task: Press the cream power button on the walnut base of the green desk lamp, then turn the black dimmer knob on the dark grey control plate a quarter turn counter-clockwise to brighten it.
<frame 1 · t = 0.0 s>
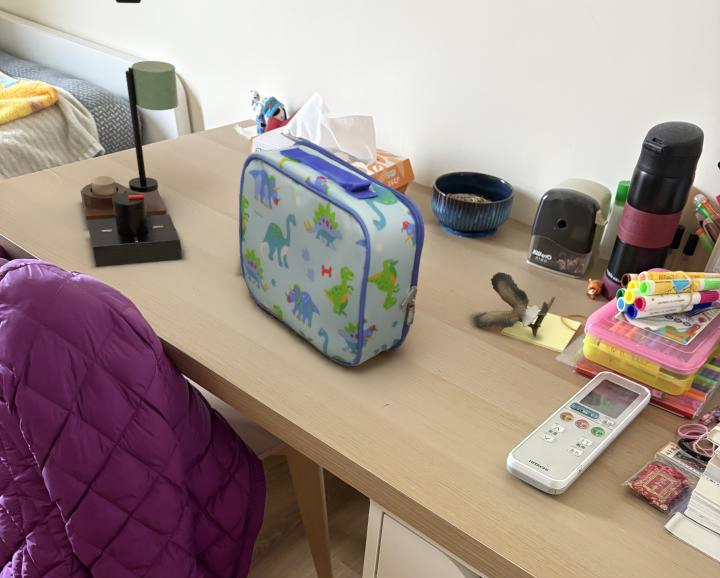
lunch box: (323, 327, 94), on the table
dimmer plate: (135, 249, 106), on the table
dimmer knob: (130, 213, 102), point 5 cm above the table, hinge at 0.0°
ink box: (261, 264, 106), on the table
lamp base: (124, 213, 115), on the table
desk lamp: (143, 187, 113), resting on lamp base
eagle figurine: (507, 327, 97), on the table
lamp button: (103, 186, 111), point 5 cm above the table, slide at 0.2 cm
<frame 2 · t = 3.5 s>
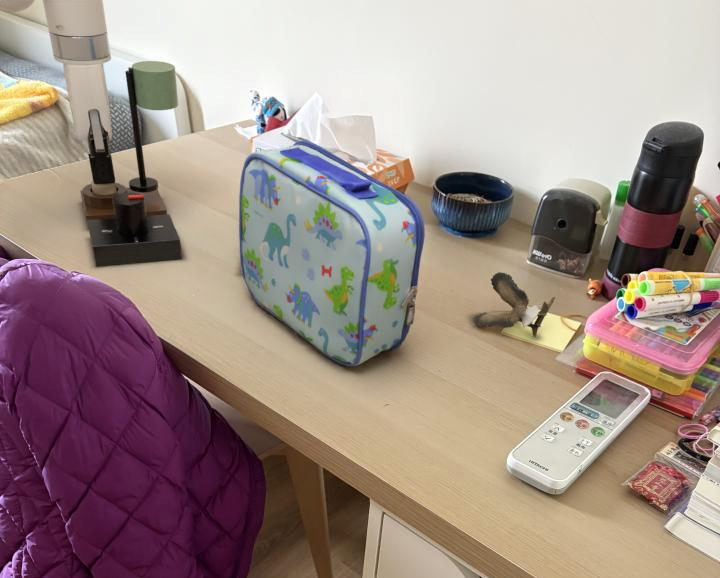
hand: (104, 181, 110), 5 cm above the table, tool pointing down, fingers closed
lamp button: (104, 187, 111), point 4 cm above the table, slide at -0.1 cm, touching gripper
everything else where it was.
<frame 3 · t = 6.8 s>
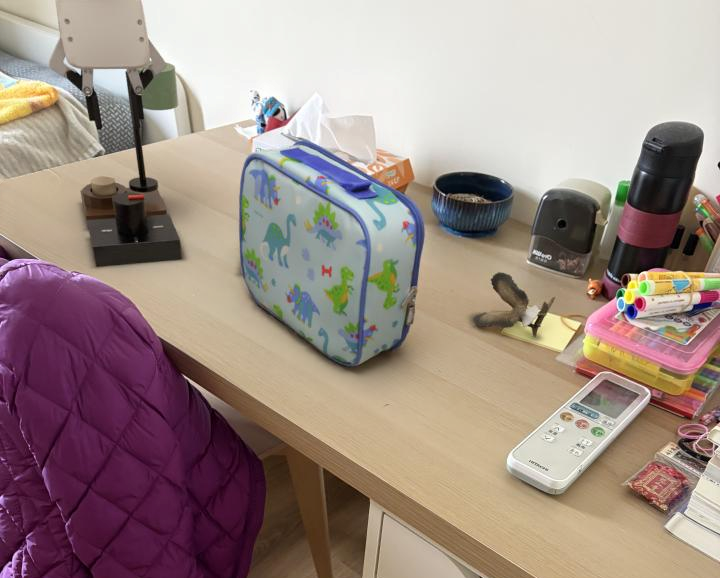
hand: (117, 124, 94), 17 cm above the table, tool pointing down, fingers open, 4 cm apart
lamp button: (103, 186, 111), point 5 cm above the table, slide at 0.1 cm
everything else where it was.
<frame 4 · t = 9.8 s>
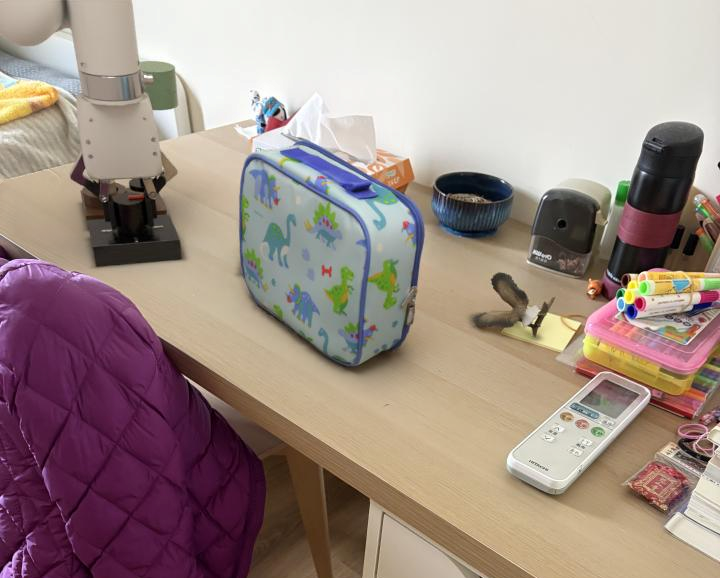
hand: (131, 223, 103), 4 cm above the table, tool pointing down, fingers closed on dimmer knob, 4 cm apart
dimmer knob: (130, 213, 102), point 5 cm above the table, hinge at 0.1°, touching gripper
everything else where it was.
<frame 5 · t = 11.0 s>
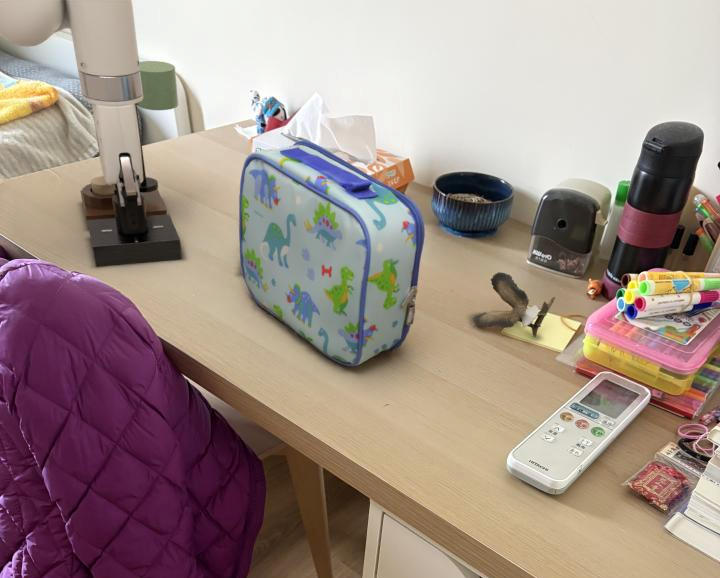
hand: (131, 223, 103), 4 cm above the table, tool pointing down, fingers closed on dimmer knob, 4 cm apart
dimmer knob: (130, 213, 102), point 5 cm above the table, hinge at 90.3°, touching gripper
everything else where it was.
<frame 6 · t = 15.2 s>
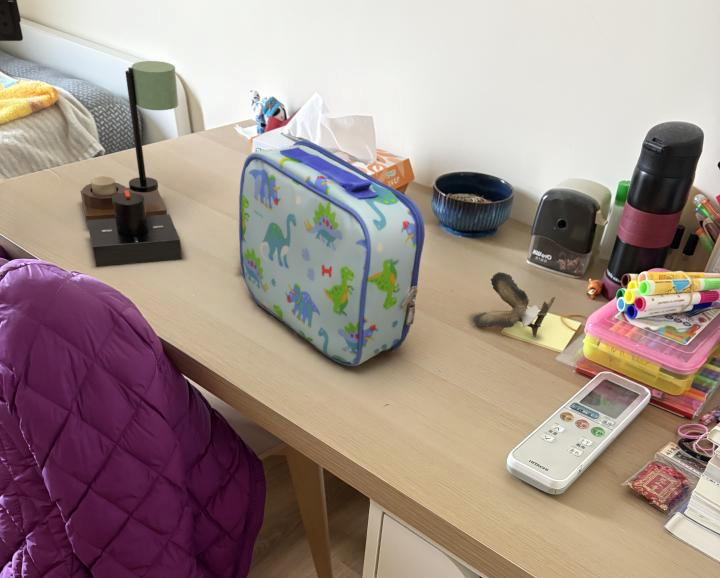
hand: (8, 30, 90), 26 cm above the table, tool pointing down, fingers open, 9 cm apart
dimmer knob: (130, 213, 102), point 5 cm above the table, hinge at 89.0°
everything else where it was.
at the end: lamp button pushed in 1.1 cm at the most during the clip, back to where it started at the end; lamp button slide at 0.1 cm; dimmer knob at +89° (first picture: +0°) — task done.
